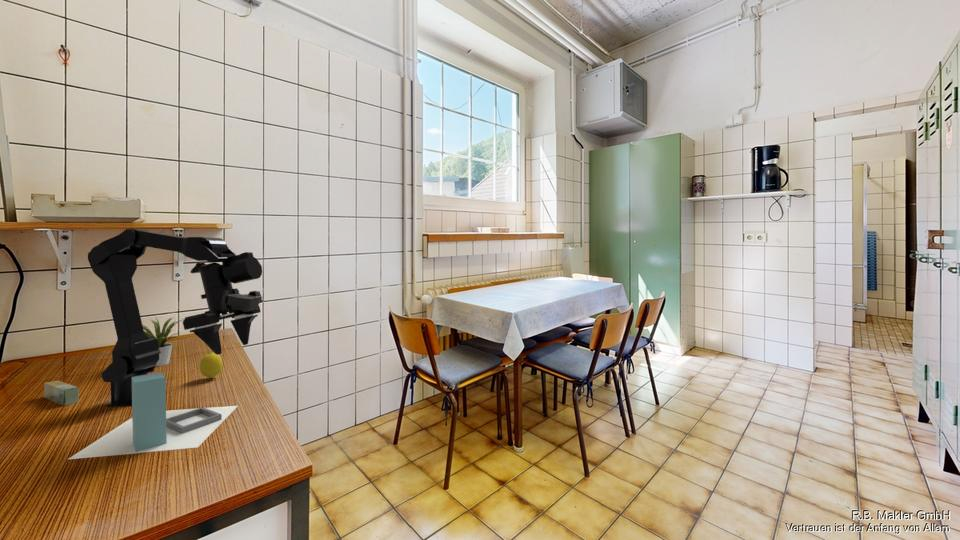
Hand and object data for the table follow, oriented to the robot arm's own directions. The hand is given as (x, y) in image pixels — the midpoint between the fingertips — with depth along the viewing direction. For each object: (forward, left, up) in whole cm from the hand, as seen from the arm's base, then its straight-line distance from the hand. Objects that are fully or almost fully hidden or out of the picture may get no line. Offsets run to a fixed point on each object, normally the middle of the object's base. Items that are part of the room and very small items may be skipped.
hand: (233, 349), depth 92 cm
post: (-7, -19, -13) cm, 25 cm away
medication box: (-43, +12, -15) cm, 47 cm away
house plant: (-36, +43, -14) cm, 58 cm away
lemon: (-14, +23, -14) cm, 31 cm away
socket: (-4, -11, -13) cm, 18 cm away
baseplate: (-8, -13, -14) cm, 21 cm away
